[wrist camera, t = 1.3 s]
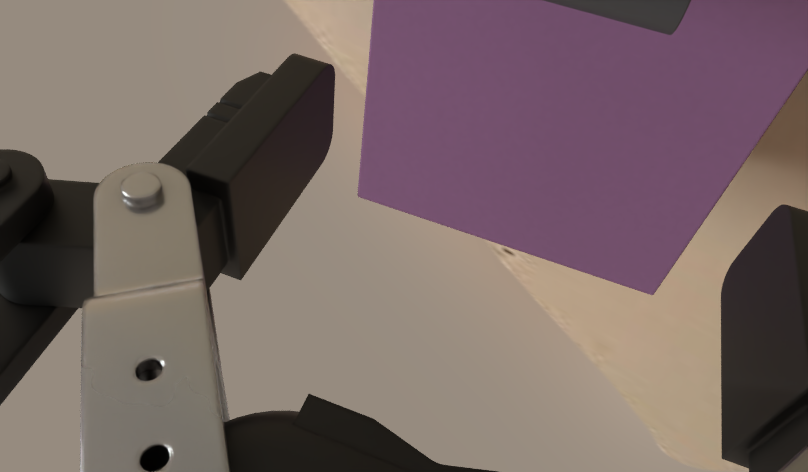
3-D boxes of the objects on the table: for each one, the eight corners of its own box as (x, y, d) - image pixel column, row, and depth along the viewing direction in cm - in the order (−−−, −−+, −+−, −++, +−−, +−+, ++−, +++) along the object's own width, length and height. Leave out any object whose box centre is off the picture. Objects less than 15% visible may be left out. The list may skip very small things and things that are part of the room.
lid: (398, -217, 20) (325, -173, 16) (911, -98, 18) (963, -15, 14) (362, 187, 33) (317, 263, 29) (654, 284, 31) (645, 379, 27)
